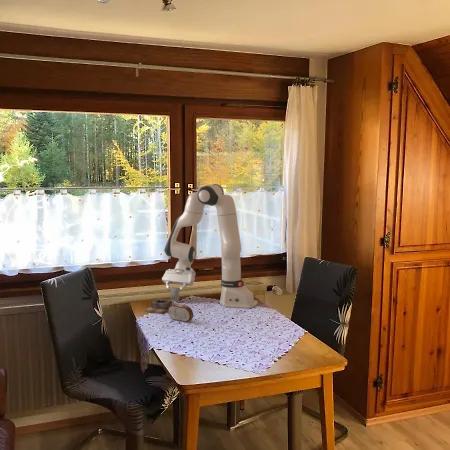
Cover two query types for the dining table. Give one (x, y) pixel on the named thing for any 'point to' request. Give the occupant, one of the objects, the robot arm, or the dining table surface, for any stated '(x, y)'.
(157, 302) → the socket board
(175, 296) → the key block
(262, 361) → the dining table surface
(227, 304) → the robot arm
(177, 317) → the tin
